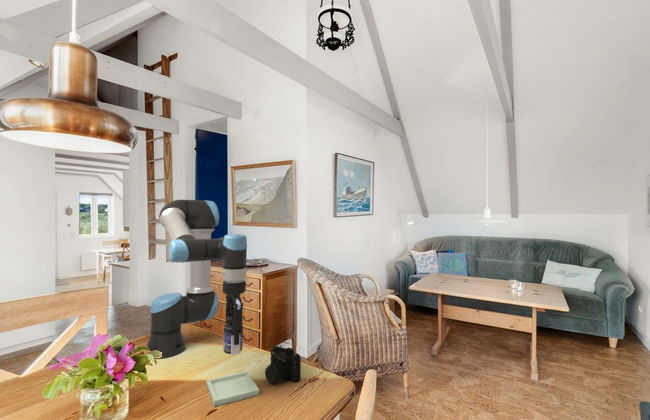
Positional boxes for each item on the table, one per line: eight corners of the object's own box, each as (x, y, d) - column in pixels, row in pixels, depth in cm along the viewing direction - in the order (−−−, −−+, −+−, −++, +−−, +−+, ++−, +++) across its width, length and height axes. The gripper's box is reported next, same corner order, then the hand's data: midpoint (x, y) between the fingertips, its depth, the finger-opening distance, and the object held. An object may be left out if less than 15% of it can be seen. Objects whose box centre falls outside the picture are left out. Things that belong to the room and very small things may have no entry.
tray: (206, 385, 110) (206, 379, 110) (247, 375, 117) (247, 370, 117) (214, 406, 98) (214, 401, 98) (258, 395, 105) (259, 389, 105)
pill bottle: (237, 355, 104) (237, 321, 104) (219, 353, 105) (220, 319, 105) (245, 347, 110) (246, 315, 110) (229, 346, 111) (229, 314, 111)
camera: (255, 377, 116) (255, 349, 117) (278, 367, 124) (278, 341, 125) (280, 391, 107) (281, 361, 107) (303, 379, 115) (303, 351, 115)
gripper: (217, 276, 115) (216, 341, 114) (229, 287, 98) (227, 364, 97) (238, 274, 118) (237, 338, 118) (253, 285, 101) (252, 359, 101)
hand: (233, 349), depth 108 cm, fingers closed on pill bottle, 6 cm apart
